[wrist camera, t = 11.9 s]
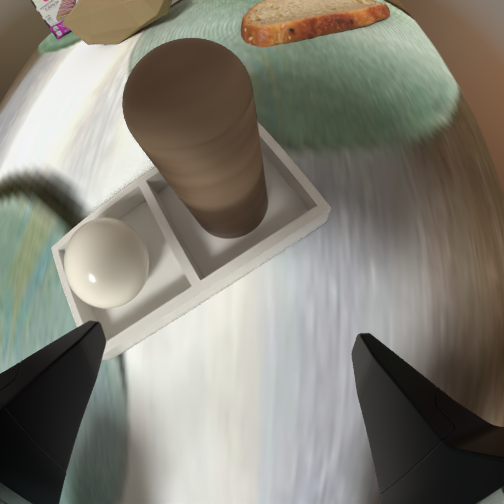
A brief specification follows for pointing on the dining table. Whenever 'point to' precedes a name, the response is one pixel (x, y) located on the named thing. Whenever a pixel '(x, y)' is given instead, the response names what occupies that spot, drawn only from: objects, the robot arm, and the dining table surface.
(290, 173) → the white divided tray
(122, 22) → the low-poly potato
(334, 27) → the slice of bread
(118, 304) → the cream white ball
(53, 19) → the candy bar box
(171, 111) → the brown domed cylinder
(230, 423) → the dining table surface
